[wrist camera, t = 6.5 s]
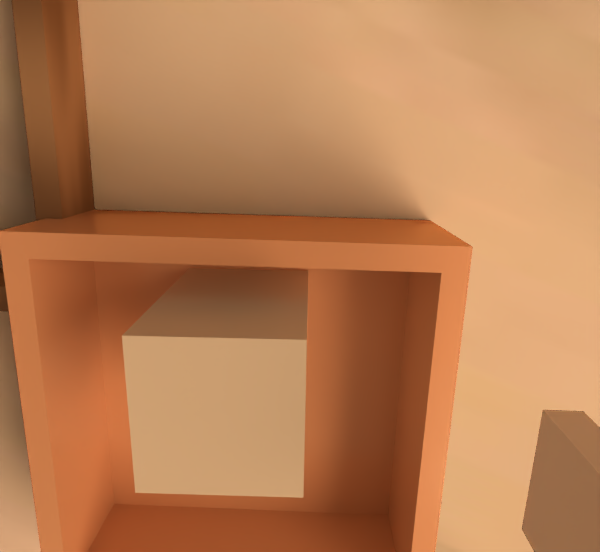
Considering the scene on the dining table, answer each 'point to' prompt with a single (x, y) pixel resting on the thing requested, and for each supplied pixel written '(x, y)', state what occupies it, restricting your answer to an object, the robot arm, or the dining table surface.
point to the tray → (53, 109)
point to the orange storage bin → (319, 377)
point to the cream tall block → (220, 385)
